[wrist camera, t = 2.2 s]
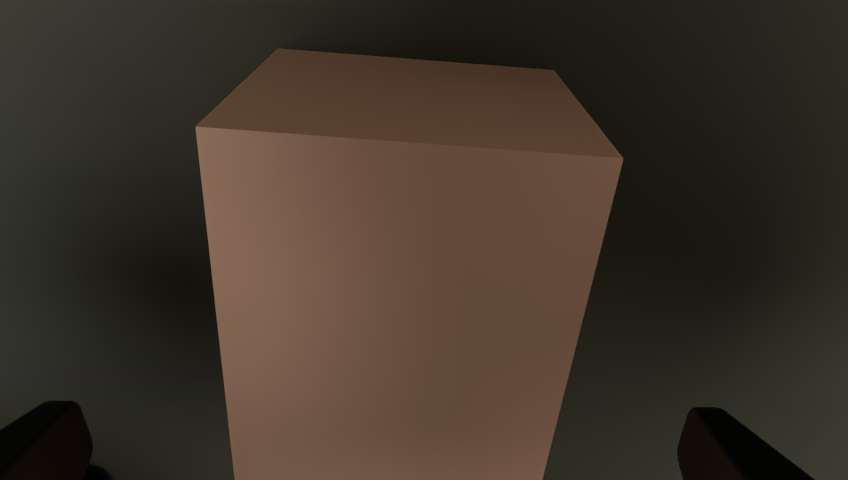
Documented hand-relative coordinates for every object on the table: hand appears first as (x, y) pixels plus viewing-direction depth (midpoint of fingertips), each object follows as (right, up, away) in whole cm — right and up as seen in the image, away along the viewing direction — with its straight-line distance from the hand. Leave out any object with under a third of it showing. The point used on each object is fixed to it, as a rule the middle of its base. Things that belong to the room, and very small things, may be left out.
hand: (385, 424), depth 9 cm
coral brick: (0, +3, +5) cm, 6 cm away
